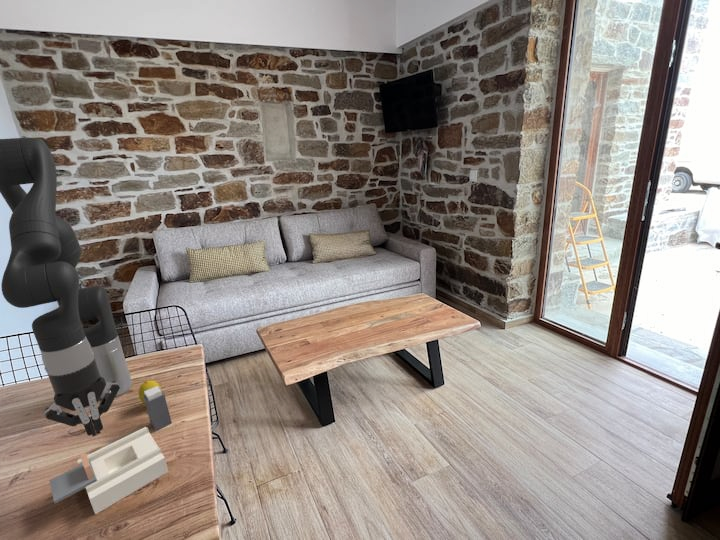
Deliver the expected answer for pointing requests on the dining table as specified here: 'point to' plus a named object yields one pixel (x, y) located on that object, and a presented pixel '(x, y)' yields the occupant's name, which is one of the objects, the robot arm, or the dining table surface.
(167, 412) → the plug
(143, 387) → the lemon
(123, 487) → the socket
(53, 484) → the panel
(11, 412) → the dining table surface
